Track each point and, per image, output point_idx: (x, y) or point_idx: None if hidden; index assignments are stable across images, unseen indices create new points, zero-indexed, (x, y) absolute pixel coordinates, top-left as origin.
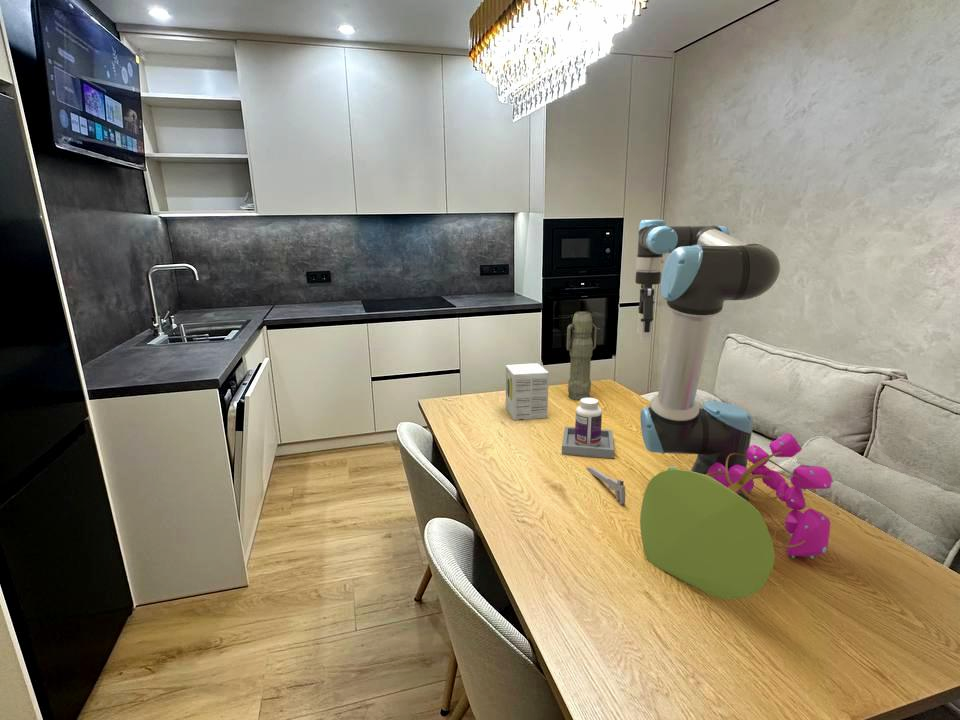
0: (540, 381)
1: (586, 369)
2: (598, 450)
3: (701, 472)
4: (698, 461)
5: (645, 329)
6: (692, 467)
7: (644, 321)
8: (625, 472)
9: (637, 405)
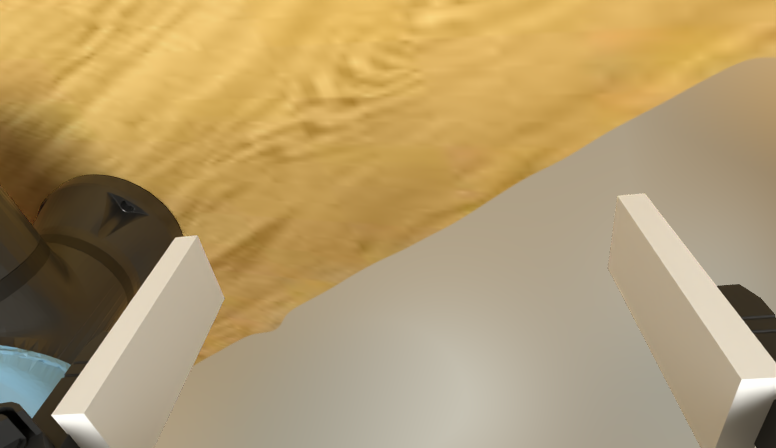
0: None
1: None
2: None
3: (33, 226)
4: (41, 231)
5: (81, 362)
6: (82, 205)
7: (24, 436)
8: (56, 11)
9: (728, 13)
